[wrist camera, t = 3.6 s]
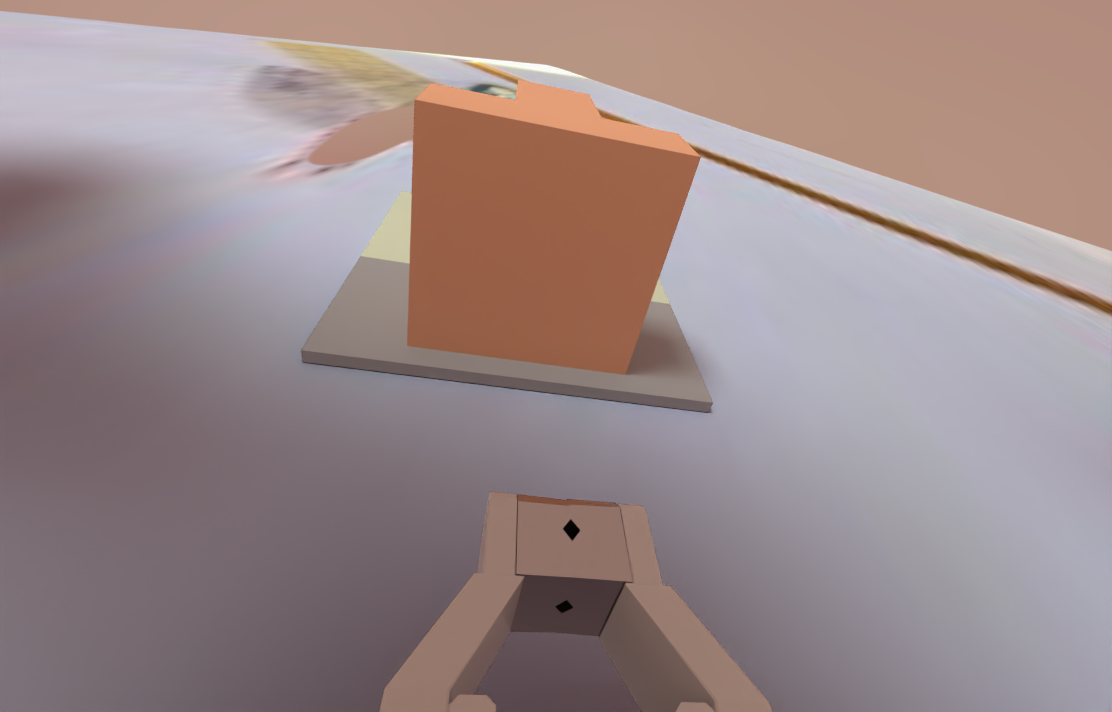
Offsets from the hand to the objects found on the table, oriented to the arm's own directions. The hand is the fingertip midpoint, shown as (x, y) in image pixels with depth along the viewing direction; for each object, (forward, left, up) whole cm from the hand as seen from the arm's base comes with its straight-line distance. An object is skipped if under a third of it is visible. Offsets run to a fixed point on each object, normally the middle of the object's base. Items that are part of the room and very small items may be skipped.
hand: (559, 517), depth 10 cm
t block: (0, +17, -6) cm, 18 cm away
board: (0, +21, -6) cm, 22 cm away
